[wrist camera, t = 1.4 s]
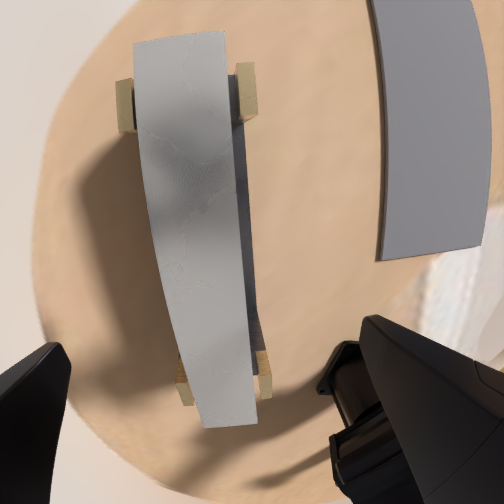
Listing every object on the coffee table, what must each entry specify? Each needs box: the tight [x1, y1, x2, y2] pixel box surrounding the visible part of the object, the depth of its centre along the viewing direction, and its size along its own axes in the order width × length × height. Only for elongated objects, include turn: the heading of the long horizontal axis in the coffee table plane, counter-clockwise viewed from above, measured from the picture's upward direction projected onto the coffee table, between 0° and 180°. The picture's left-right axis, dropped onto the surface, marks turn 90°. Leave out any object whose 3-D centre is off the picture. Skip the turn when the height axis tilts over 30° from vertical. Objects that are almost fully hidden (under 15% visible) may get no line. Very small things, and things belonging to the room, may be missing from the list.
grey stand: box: [115, 63, 272, 406], centre depth 15 cm, size 17×5×7 cm, turn 4°
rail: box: [133, 31, 258, 428], centre depth 12 cm, size 18×3×3 cm, turn 4°
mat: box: [370, 0, 492, 261], centre depth 16 cm, size 24×12×1 cm, turn 4°
